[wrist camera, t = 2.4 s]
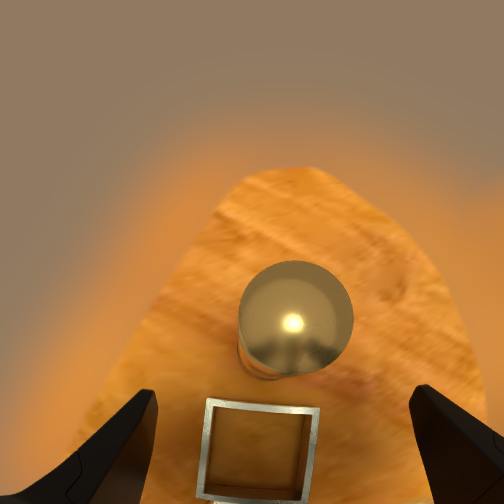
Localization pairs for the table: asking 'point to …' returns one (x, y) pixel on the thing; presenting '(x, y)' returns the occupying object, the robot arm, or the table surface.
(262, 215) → the table surface
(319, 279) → the gold metal cylinder
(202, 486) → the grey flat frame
